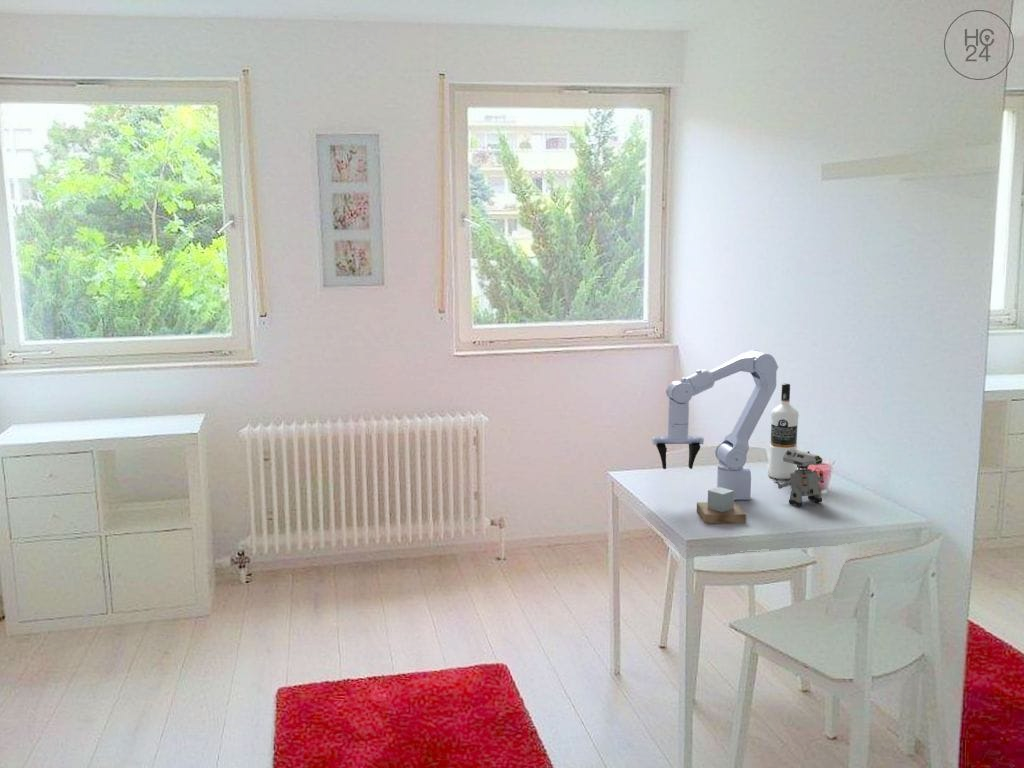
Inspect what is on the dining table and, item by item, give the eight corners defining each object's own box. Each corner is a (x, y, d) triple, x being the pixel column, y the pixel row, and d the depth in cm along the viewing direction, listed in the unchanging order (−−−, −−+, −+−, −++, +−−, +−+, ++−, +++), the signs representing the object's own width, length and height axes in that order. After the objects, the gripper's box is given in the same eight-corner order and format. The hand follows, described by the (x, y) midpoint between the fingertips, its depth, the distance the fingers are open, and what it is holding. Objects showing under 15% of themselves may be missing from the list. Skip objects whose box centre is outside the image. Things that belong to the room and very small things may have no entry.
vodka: (800, 474, 296) (804, 382, 290) (792, 481, 288) (797, 387, 283) (771, 471, 300) (775, 380, 295) (763, 477, 293) (767, 384, 287)
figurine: (796, 494, 275) (798, 445, 272) (826, 504, 265) (828, 453, 262) (773, 499, 270) (775, 449, 268) (803, 509, 260) (805, 457, 258)
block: (718, 504, 258) (719, 486, 257) (733, 508, 254) (734, 490, 253) (707, 507, 254) (707, 490, 254) (722, 512, 251) (722, 494, 250)
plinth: (735, 510, 260) (735, 502, 259) (745, 523, 249) (746, 514, 249) (696, 511, 260) (696, 502, 259) (705, 523, 249) (705, 514, 248)
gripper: (700, 419, 271) (699, 464, 273) (651, 419, 271) (650, 464, 273) (705, 424, 264) (704, 470, 266) (655, 425, 264) (654, 471, 266)
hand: (677, 468), depth 269 cm, fingers open, 7 cm apart
